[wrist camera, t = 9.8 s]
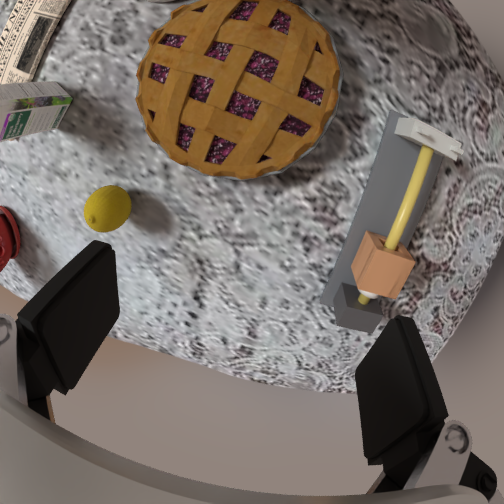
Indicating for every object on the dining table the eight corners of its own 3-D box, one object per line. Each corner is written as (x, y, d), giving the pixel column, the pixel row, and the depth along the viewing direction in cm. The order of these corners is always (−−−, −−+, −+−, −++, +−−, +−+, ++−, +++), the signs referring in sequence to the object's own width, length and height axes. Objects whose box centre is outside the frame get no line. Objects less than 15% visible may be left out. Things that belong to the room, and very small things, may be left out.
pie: (131, 146, 32) (109, 152, 28) (181, -10, 22) (165, -25, 18) (298, 200, 33) (298, 214, 28) (362, 34, 23) (373, 21, 18)
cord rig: (389, 110, 26) (413, 109, 20) (445, 137, 26) (476, 145, 20) (319, 299, 38) (322, 334, 32) (370, 312, 38) (379, 346, 32)
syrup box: (57, 130, 32) (-19, 150, 19) (39, 110, 30) (-33, 126, 17) (74, 98, 29) (-6, 107, 16) (55, 79, 28) (-21, 85, 15)
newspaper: (18, 139, 33) (6, 142, 31) (-20, 106, 30) (-30, 108, 28) (117, -55, 17) (107, -61, 15) (56, -55, 14) (48, -58, 12)
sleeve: (366, 230, 31) (377, 249, 27) (401, 242, 31) (415, 262, 27) (350, 266, 34) (357, 289, 29) (384, 276, 33) (395, 299, 29)
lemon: (147, 192, 34) (114, 213, 27) (133, 225, 37) (101, 250, 30) (116, 171, 34) (79, 187, 27) (103, 204, 36) (68, 226, 29)
